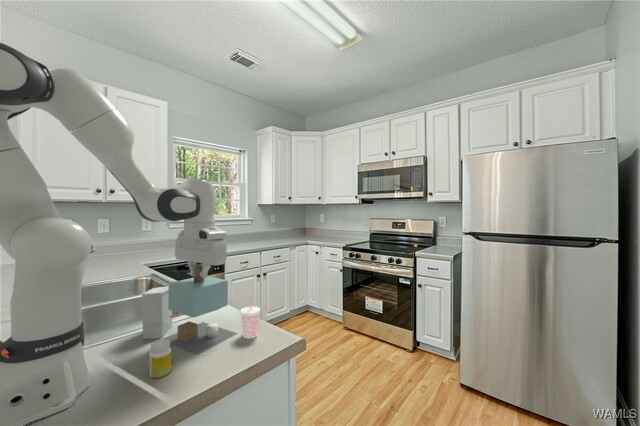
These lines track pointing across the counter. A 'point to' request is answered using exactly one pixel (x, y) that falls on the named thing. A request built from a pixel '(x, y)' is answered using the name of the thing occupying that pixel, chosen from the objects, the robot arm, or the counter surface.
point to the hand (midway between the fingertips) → (198, 276)
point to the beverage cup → (250, 321)
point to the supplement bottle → (160, 359)
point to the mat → (199, 336)
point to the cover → (197, 294)
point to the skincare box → (156, 313)
